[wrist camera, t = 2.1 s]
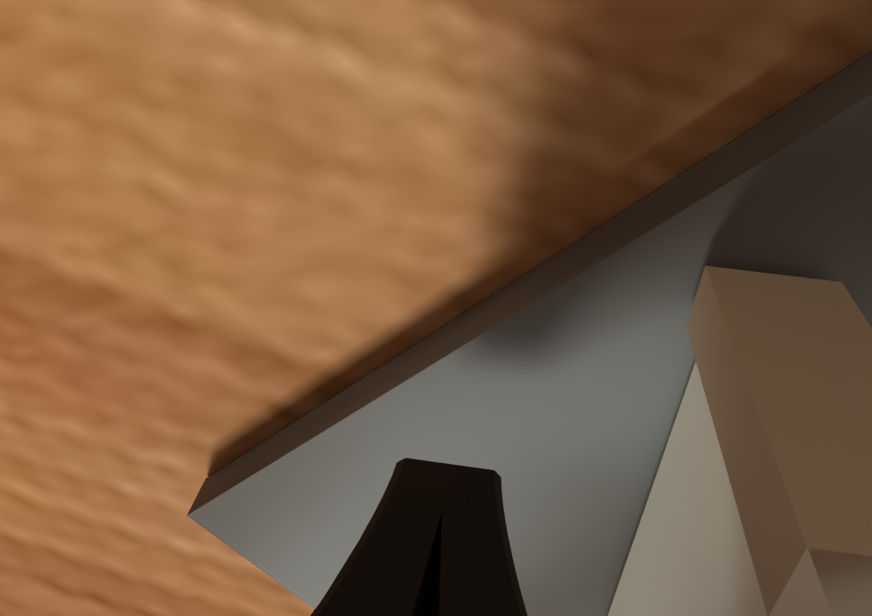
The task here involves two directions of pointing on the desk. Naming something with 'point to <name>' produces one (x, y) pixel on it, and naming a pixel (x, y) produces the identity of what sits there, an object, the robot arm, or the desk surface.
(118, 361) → the desk surface
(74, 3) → the desk surface
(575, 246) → the gate base
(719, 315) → the gate leaf
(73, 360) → the desk surface
